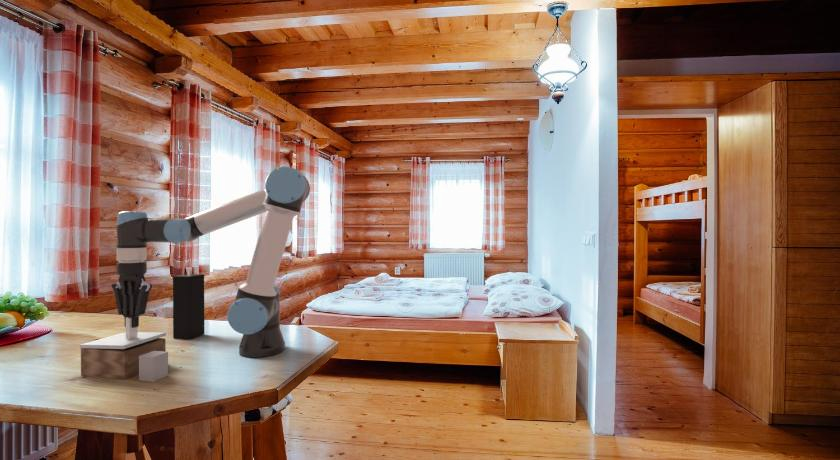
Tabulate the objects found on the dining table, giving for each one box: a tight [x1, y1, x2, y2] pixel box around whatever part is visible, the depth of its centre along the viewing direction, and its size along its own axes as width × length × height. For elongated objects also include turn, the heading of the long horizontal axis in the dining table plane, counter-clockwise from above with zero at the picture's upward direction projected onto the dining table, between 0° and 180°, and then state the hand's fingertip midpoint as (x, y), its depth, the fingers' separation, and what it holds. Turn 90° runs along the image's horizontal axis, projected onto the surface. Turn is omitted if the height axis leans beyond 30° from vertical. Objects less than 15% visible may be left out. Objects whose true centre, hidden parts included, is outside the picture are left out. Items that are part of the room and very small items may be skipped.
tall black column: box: [172, 266, 205, 340], centre depth 159 cm, size 8×8×28 cm
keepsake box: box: [80, 337, 167, 380], centre depth 123 cm, size 16×14×8 cm
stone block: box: [138, 351, 169, 383], centre depth 116 cm, size 5×5×7 cm
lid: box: [79, 331, 167, 349], centre depth 123 cm, size 16×14×1 cm
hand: (131, 337), depth 122 cm, fingers closed
